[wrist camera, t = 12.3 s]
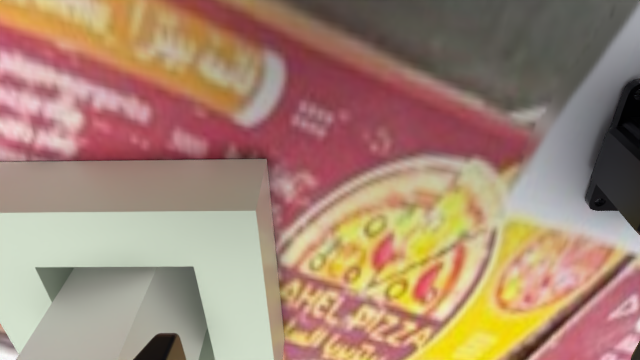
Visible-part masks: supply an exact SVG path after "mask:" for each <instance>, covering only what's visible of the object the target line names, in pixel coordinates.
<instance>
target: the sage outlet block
mask: <svg viewBox="0 0 640 360" xmlns="http://www.w3.org/2000/svg"><path fill="white" fill-rule="evenodd" d="M188 266H194V270H195V275H196V279H197V283H198V288H199V292H200V296H201V300H202V305H203V309H204V313H205V318H206V322H207V330H206V333H205V337H204V341H203V345H202V348H201V352H200V356H199V360H283V350H284V340H285V339H284V328H283V318H282V308H281V298H280V288H279V278H278V267H277V257H276V247H275V237H274V227H273V217H272V207H271V196H270V186H269V176H268V166H267V159H211V160H122V161H33V162H0V323H1V325H2V327H3V328H4V330H5V332H6V333H7V335H8V337H9V338H10V340H11V342H12V344H13V345H14V347H15V349H16V350H17V352H18V354H20V353H21V351H22V349H23V348H24V346H25V345H26V343H27V342H28V340H29V338H30V337H31V335H32V334H33V332H34V331H35V329H36V327H37V326H38V324H39V323H40V321H41V320H42V318H43V316H44V315H45V313H46V312H47V310H48V308H49V307H50V305H51V304H52V302H53V301H54V299H55V297H56V296H57V294H58V293H59V291H60V290H61V288H62V286H63V285H64V283H65V282H66V280H67V279H68V277H69V275H70V274H71V272H72V271H73V269H74V268H75V267H188Z"/></svg>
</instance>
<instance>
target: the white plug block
mask: <svg viewBox="0 0 640 360" xmlns="http://www.w3.org/2000/svg"><path fill="white" fill-rule="evenodd" d="M206 330H207V322H206V318H205V313H204V309H203V305H202V300H201V296H200V292H199V288H198V283H197V279H196V275H195V270H194V266H188V267H75V268H74V269H73V271H72V272H71V274H70V275H69V277H68V279H67V280H66V282H65V283H64V285H63V286H62V288H61V290H60V291H59V293H58V294H57V296H56V297H55V299H54V301H53V302H52V304H51V305H50V307H49V308H48V310H47V312H46V313H45V315H44V316H43V318H42V320H41V321H40V323H39V324H38V326H37V327H36V329H35V331H34V332H33V334H32V335H31V337H30V338H29V340H28V342H27V343H26V345H25V346H24V348H23V349H22V351H21V353H20V354H19V356H18V357H17V359H16V360H133V359H134V358H135V357H136V356H137V355H138V353H139V352H140V351H141V350H142V349H143V348H144V347H145V346H146V345H147V343H148V342H149V341H150V340H151V339H152V338H153V337H154V336H155V335H157V334H158V333H177V334H178V335H179V336H180V339H181V342H182V346H183V349H184V353H185V356H186V360H199V356H200V352H201V348H202V345H203V341H204V337H205V333H206Z"/></svg>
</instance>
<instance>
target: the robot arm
mask: <svg viewBox="0 0 640 360" xmlns="http://www.w3.org/2000/svg"><path fill="white" fill-rule="evenodd" d="M639 89H640V79H637V80H633V81H632V82H630V83H629V84H628V85H626V87H625V88H624V90H623V93H622V96H621V99H620V101H619V104H618V107H617V110H616V113H615V116H614V118H613V121H612V124H611V127H610V129H609V130H608V131H607V133H606V136H605V138H604V141H603V144H602V147H601V150H600V153H599V156H598V158H597V161H596V164H595V167H594V170H593V173H592V176H591V178H592V181H591V184H590V186H589V189H588V192H587V195H586V198H585V201H586V203H587V205H588V206H589V207H590V208H591V209H592V210H595V211H619V212H620V213H621V214H622V215H623V216H624V218H625V219H626V220H627V221H628V222H629V223H630V225H631V226H632V227H633V228H634V229H635V231H636V232H637V233H638V234H639V235H640V93H639V94H638V95H636V96H634V94H635V92H636V91H637V90H639ZM599 198H601V199H600V200H599V201H596V200H597V199H599ZM595 201H596V202H595ZM133 360H186V356H185V353H184V349H183V346H182V342H181V339H180V336H179V335H178V334H177V333H158V334H157V335H155V336H154V337H153V338H152V339H151V340H150V341H149V342H148V343H147V345H146V346H145V347H144V348H143V349H142V350H141V351H140V352H139V353H138V355H137V356H136V357H135V358H134V359H133ZM631 360H640V341H639V343H638V345H637V347H636V349H635V351H634V352H633V354H632V356H631Z"/></svg>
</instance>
